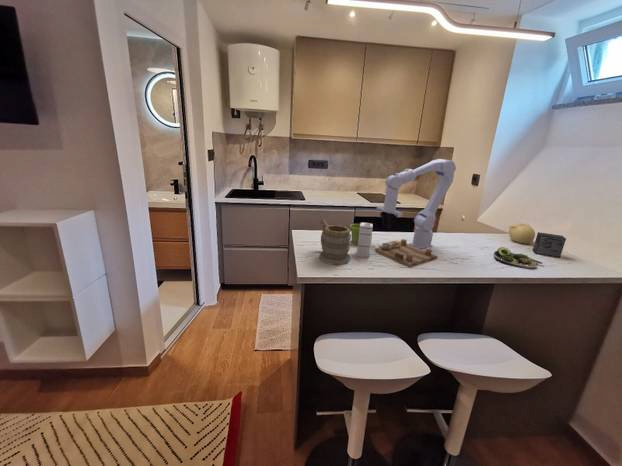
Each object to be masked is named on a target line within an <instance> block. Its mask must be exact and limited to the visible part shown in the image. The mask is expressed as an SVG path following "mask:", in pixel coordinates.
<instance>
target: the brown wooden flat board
mask: <svg viewBox="0 0 622 466" xmlns="http://www.w3.org/2000/svg"><path fill="white" fill-rule="evenodd" d="M400 241H401V246H400V247H396V248H392V249H388V250H383V249H382V246H380V247H376V248H374V252H375V253H378V254H380V255H382V256H384V257H386V258H389V259H391V260H393V261H395V262H397V263H399V264H402V265H403V266H406V267H409V268H412V267H416V266H418V265H421V264H425V263H427V262H431V261H434V260H437V259H438V255H437V254H434V253H433V252H432V251H433V250H432V249H431V248H425V250H424V249H420V248H418V247H415V246H413V245H410V244H409V243H407V241H408V240H407V239H405V238H402V239H401V240H400Z"/></svg>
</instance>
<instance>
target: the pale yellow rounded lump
mask: <svg viewBox="0 0 622 466" xmlns="http://www.w3.org/2000/svg"><path fill="white" fill-rule="evenodd" d="M508 234H509V238H510V239H511V241H512V242H516V243H520V244H526V245H527V244H530V243H532V242H533V241H534V240H535V239H536V232H535V229H534V228H533V227H532V226H530V224H526V223H521V222H519V223H517V224H514V225H513V224H512V225H510V226H509V228H508Z"/></svg>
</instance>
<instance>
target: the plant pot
mask: <svg viewBox="0 0 622 466" xmlns="http://www.w3.org/2000/svg"><path fill="white" fill-rule="evenodd" d="M349 227H350V234H351V243H352V244H355V245H358V239H359V229H360V223H352V224H351V223H350V225H349Z"/></svg>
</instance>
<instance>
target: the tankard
mask: <svg viewBox="0 0 622 466" xmlns="http://www.w3.org/2000/svg"><path fill="white" fill-rule="evenodd" d="M319 224H320V225H322V232H321V235H320V245H321V253H320V254H319V260H321V261H322V262H324V263H325V264H330V265H335V266H340V265H345V264H349V261H350V260H351V255H350V254H348V253H349V251H350V250H351V249H350V247H351V245H350V241H351V240H352V236H351V228H349V227H347V226H345V225H338V224H332V225H331V224H330V225H329V224H328V223H327V221H326V220H325V218H321V219H320V220H319Z"/></svg>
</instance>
